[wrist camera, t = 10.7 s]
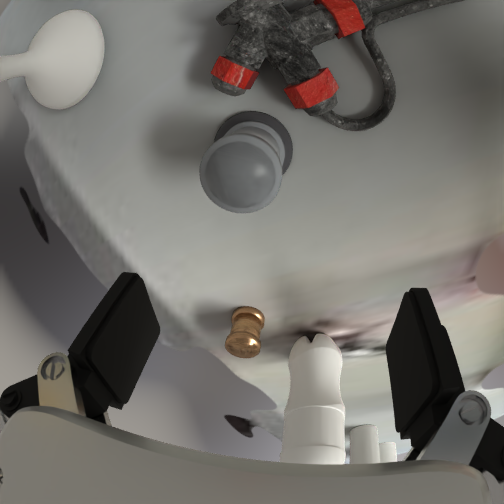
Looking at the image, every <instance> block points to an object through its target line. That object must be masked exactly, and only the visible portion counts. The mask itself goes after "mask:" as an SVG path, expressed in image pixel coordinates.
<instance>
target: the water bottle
mask: <svg viewBox="0 0 504 504" xmlns="http://www.w3.org/2000/svg"><path fill="white" fill-rule="evenodd" d="M288 367H289V371H290V380H291V382H290V393H289V398H288V402H287V405H286V408H285V410H284V421H285V423H284V433H283V442H282V451H281V453H280V462H283V463H298V464H344V462H345V457H346V452H345V433H344V419H345V406H344V404H343V402H342V399H341V394H340V374H341V369H342V355H341V351H340V349H339V347H338V346H337V345H336V344H335V343H334V341H333V340H332V339H331V338H330V337H329V336H328V335H325V334H321V333H320V334H316V336H315V337H314V339H313V342H312V343H310V341H309V339H308V338H307V337H306V336H303V337H301V338H299V339H298V340H297V341H296V343H295V344H294V346H293V347H292V349H291V352H290V356H289V361H288Z"/></svg>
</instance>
